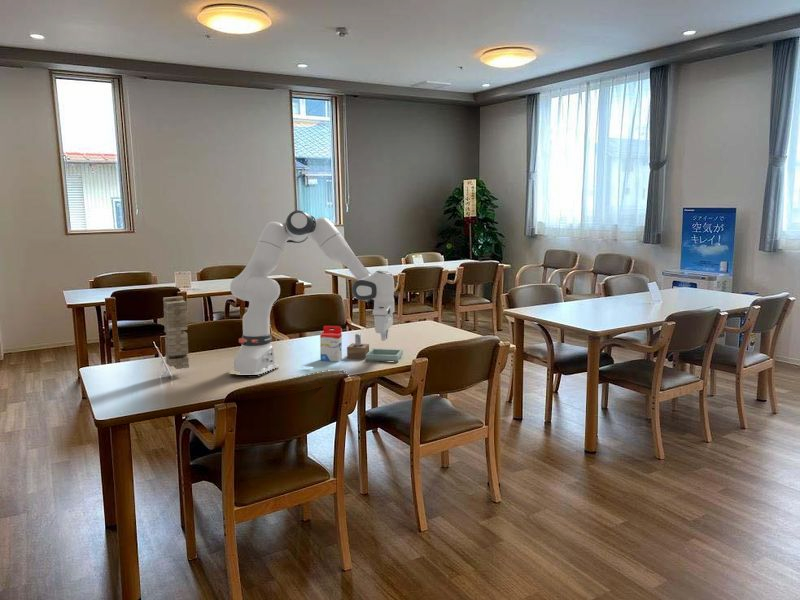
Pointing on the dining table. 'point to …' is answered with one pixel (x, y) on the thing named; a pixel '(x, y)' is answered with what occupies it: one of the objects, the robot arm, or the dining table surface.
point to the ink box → (331, 344)
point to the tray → (384, 355)
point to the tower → (176, 332)
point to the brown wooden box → (357, 351)
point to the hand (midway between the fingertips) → (384, 339)
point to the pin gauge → (358, 340)
